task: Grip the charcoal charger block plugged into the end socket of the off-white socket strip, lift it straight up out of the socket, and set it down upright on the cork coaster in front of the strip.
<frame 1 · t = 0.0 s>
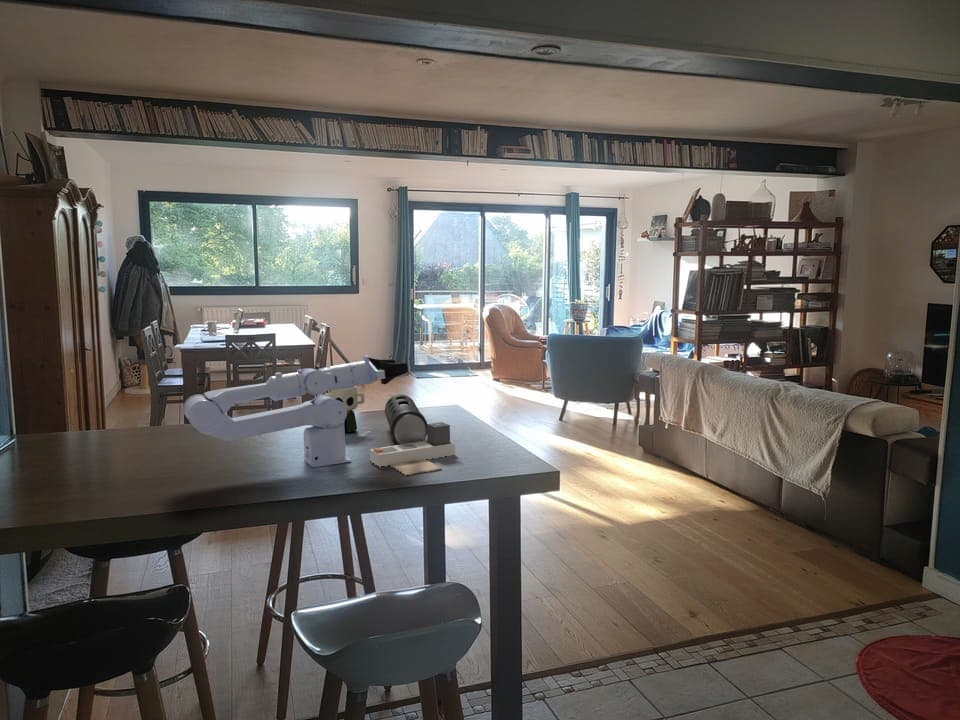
hand: (401, 365, 172), 22 cm above the table, tool horizontal, fingers open, 7 cm apart
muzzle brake: (405, 440, 186), on the table
coaster: (415, 468, 158), on the table
socket strip: (413, 458, 167), on the table
charger: (438, 446, 170), point 2 cm above the table, touching socket strip
character mug: (346, 432, 195), on the table
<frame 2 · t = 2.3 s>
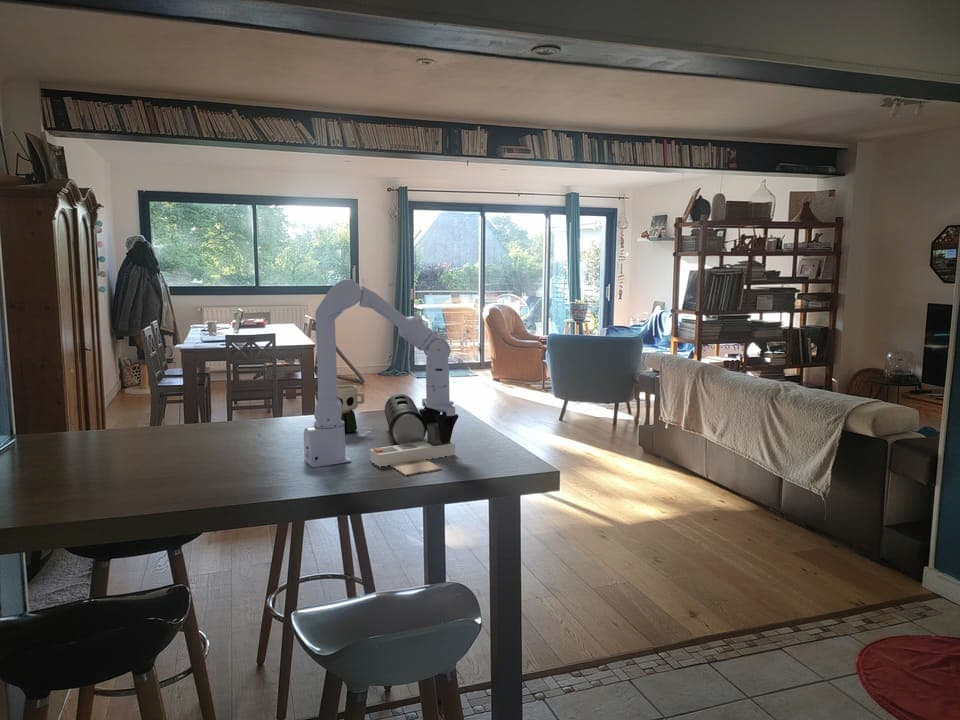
hand: (438, 439, 170), 4 cm above the table, tool pointing down, fingers open, 7 cm apart
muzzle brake: (405, 440, 186), on the table, touching gripper
everything else where it was.
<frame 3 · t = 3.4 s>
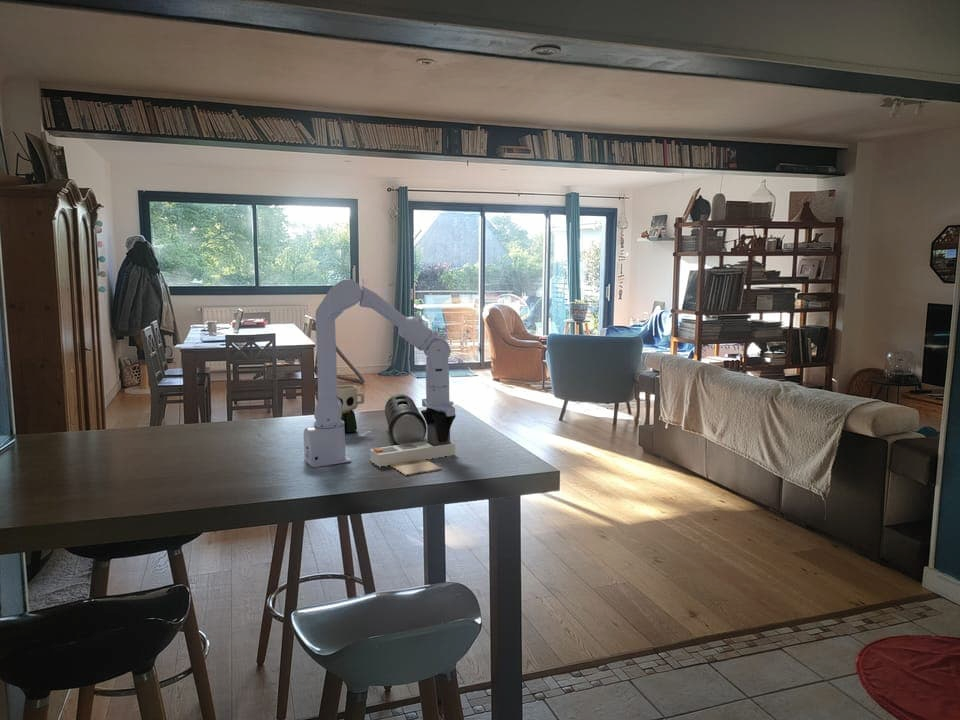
hand: (438, 439, 170), 4 cm above the table, tool pointing down, fingers closed on charger, 4 cm apart
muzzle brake: (404, 440, 186), on the table
charger: (438, 446, 170), point 2 cm above the table, touching gripper, socket strip
everything else where it was.
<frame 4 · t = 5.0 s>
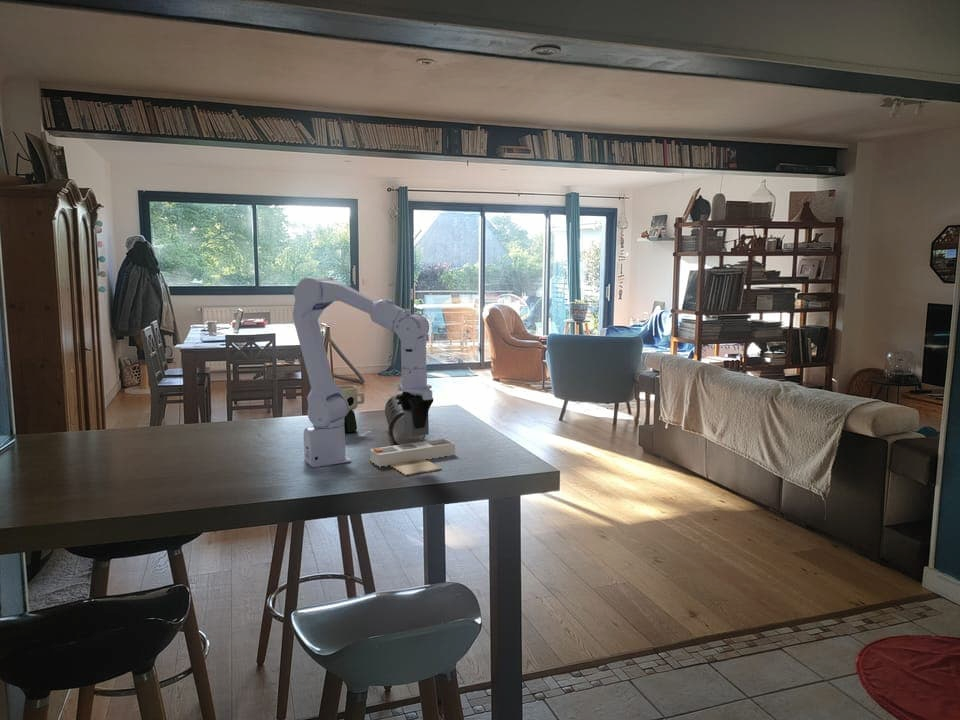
hand: (415, 425, 157), 10 cm above the table, tool pointing down, fingers closed on charger, 4 cm apart
charger: (416, 433, 158), point 8 cm above the table, touching gripper
everything else where it was.
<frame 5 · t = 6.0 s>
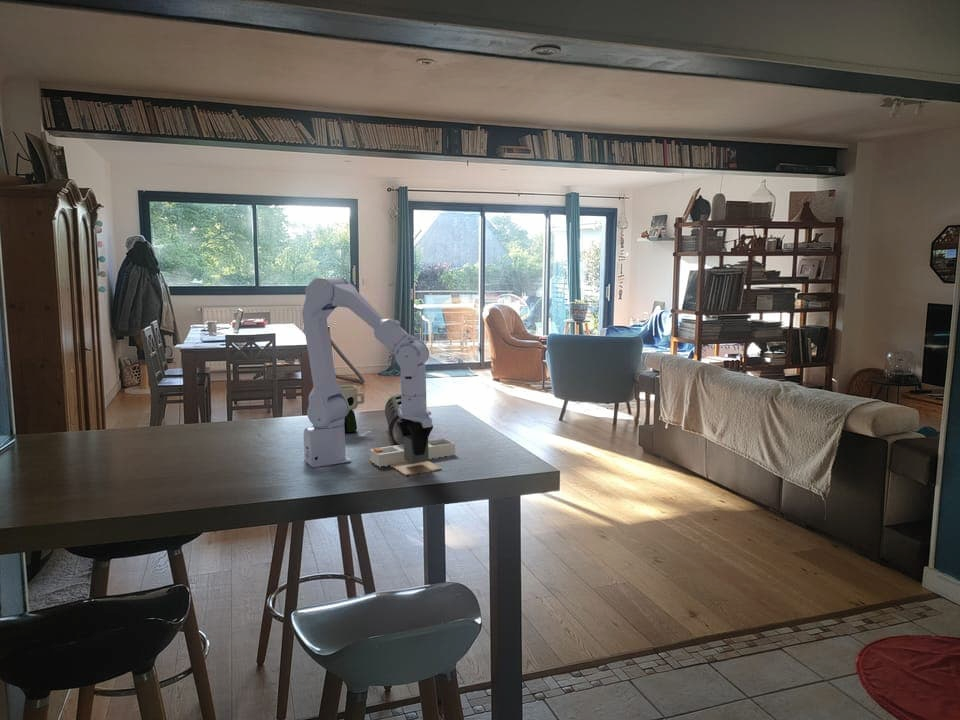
hand: (415, 452, 158), 4 cm above the table, tool pointing down, fingers closed on charger, 4 cm apart
charger: (416, 460, 158), point 2 cm above the table, touching gripper
everything else where it was.
when the fingers open (3 cm above the table, at t = 6.9 s): charger drops 1 cm, resting on coaster.
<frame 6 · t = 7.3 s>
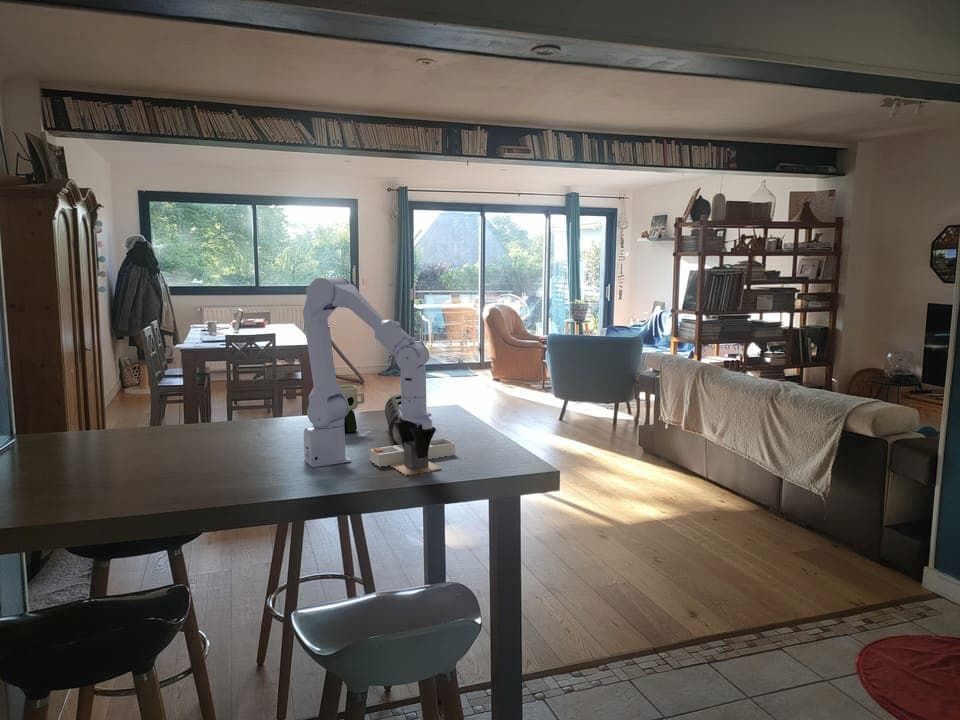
hand: (415, 453, 158), 3 cm above the table, tool pointing down, fingers open, 7 cm apart
charger: (416, 466, 158), resting on coaster
everything else where it was.
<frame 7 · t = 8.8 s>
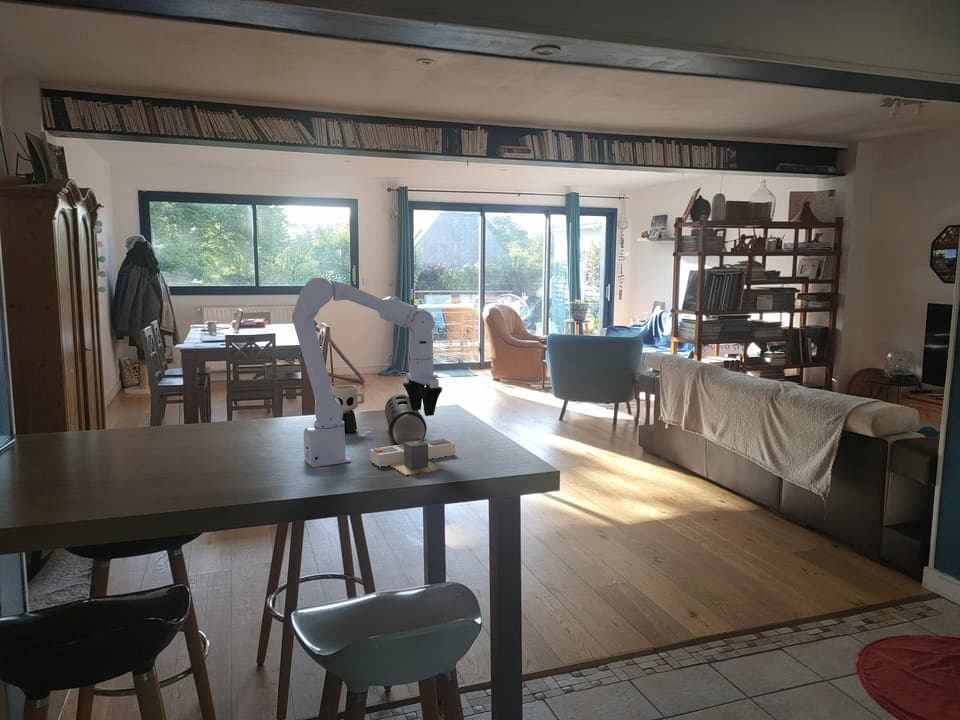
hand: (422, 412, 169), 10 cm above the table, tool pointing down, fingers open, 7 cm apart
nothing on the table moved.
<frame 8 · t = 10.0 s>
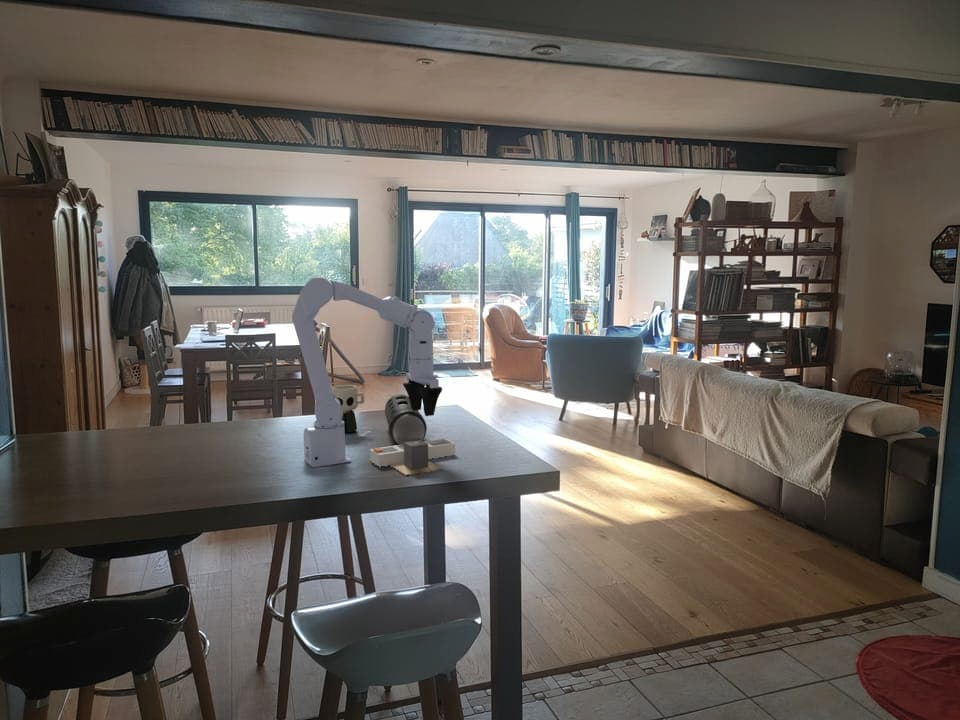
hand: (422, 412, 169), 10 cm above the table, tool pointing down, fingers open, 7 cm apart
nothing on the table moved.
at the end: charger inside the target area on the coaster (0.2 cm from its centre), point 0.4 cm above the coaster's base; charger tilted 0°; charger touching coaster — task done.
